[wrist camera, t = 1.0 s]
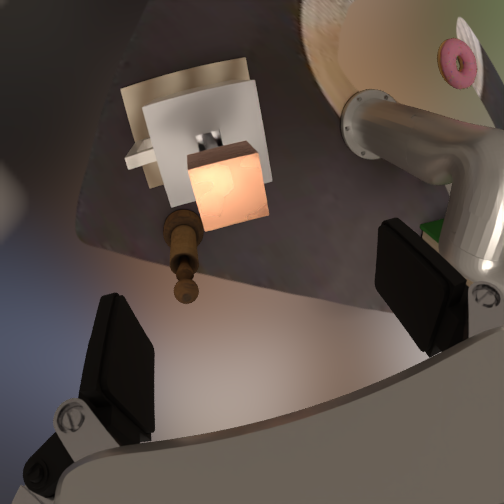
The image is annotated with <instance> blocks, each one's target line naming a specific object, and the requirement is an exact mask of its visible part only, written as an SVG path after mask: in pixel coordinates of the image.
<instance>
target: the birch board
mask: <svg viewBox="0 0 504 504" xmlns="http://www.w3.org/2000/svg"><path fill="white" fill-rule="evenodd" d="M228 80H250V78H249V73H248V68H247V63H246V58H239V59H233V60H227V61H222V62H217V63H212V64H208V65H203V66H199V67H194V68H190V69H186V70H182V71H178V72H174V73H171V74H167V75H163V76H160V77H157V78H153V79H150V80H147V81H143V82H140V83H137V84H134V85H131V86H128V87H125V88H122V89H121V93H122V97H123V101H124V105H125V108H126V112H127V116H128V119H129V123H130V126H131V130H132V133H133V137H134V140H135V143H136V141H139V140H142V139H145V138H148V137H150V135H149V132H148V128H147V124H146V121H145V117H144V113H143V110H142V107H143V106H145V105H146V104H148V103H149V102H151V101H152V100H154V99H156V98H159V97H162V96H166V95H169V94H173V93H177V92H180V91H184V90H188V89H192V88H196V87H200V86H204V85H209V84H213V83H218V82H223V81H228ZM142 166H143V170H144V173H145V176H146V179H147V182H148V185H149V188H153V187H157V186H160V185H163V184H164V183H163V179H162V176H161V173H160V170H159V166H158V163H157V161H155V162H152V163H148V164H145V165H142Z"/></svg>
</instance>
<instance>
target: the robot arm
mask: <svg viewBox="0 0 504 504" xmlns="http://www.w3.org/2000/svg"><path fill="white" fill-rule="evenodd" d="M357 98H358V100H357ZM345 127H346V129H345ZM341 133H342V137H343V139H344V142H345V143H346V145H347V146H348V148H349V149H350V150H351V151H352V152H353V153H355V154H356V155H358V156H360V157H362V158H365V159H379V158H383V159H385V160H386V161H388V162H390V163H392V164H394V165H396V166H397V167H399V168H401V169H403V170H405V171H406V172H408V173H410V174H412V175H413V176H415V177H417V178H419V179H420V180H422V181H424V182H426V183H428V184H432V185H446V184H450V183H452V187H451V192H450V198H449V202H448V206H447V210H446V214H445V218H444V222H443V225H442V229H441V233H440V238H439V245H438V248H439V253H438V252H437V251H436V250H435V249H434V248H432V247H431V246H430V245H429V244H428V243H427V242H426V241H425V240H423V239H422V238H421V237H420V236H419V235H418V234H417V233H415V232H414V231H413V230H412V229H411V228H410V227H408V226H407V225H406V224H405V223H404V222H402V221H401V220H400V219H399V218H392V219H389V220H385V221H383V222H382V224H381V226H379V228H378V245H377V260H376V273H375V287H376V290H377V291H378V293H379V294H380V295H381V297H382V298H383V299H384V301H385V302H386V303H387V305H388V306H389V307H390V309H391V310H392V311H393V313H394V314H395V315H396V317H397V318H398V319H399V321H400V322H401V323H402V325H403V326H404V328H405V329H406V331H407V332H408V333H409V335H410V336H411V337H412V339H413V340H414V342H415V343H416V345H417V346H418V347H419V349H420V350H421V351H422V352H424V351H425V352H426V354H427V355H428V356H429V359H427V360H425V361H423V362H421V363H419V364H417V365H415V366H413V367H410V368H408V369H406V370H404V371H402V372H400V373H397V374H395V375H393V376H391V377H388V378H386V379H384V380H381V381H379V382H377V383H374V384H372V385H369V386H367V387H364V388H362V389H359V390H357V391H354V392H352V393H349V394H346V395H343V396H341V397H338V398H335V399H332V400H330V401H327V402H324V403H321V404H318V405H315V406H312V407H309V408H305V409H302V410H299V411H296V412H292V413H290V414H286V415H282V416H279V417H275V418H272V419H268V420H264V421H260V422H256V423H252V424H248V425H244V426H239V427H235V428H230V429H226V430H221V431H216V432H211V433H206V434H201V435H194V436H188V437H182V438H176V439H170V440H163V441H156V442H148V443H140V442H145V441H151V433H153V432H154V431H155V418H154V417H155V415H154V356H155V355H154V354H155V353H154V348H153V345H152V343H151V342H150V340H149V338H148V337H147V335H146V334H145V332H144V330H143V328H142V327H141V325H140V324H139V322H138V320H137V318H136V317H135V315H134V313H133V311H132V310H131V308H130V306H129V304H128V303H127V301H126V299H125V297H124V296H123V295H121V296H119V294H118V293H112V294H108V295H104V296H102V297H101V299H100V302H99V306H98V310H97V314H96V318H95V321H94V326H93V330H92V334H91V338H90V340H89V344H88V349H87V353H86V358H85V363H84V368H83V373H82V379H81V385H80V390H79V397H78V398H72V399H69V400H66V401H65V402H63V403H62V404H61V405H60V406H59V407H58V409H57V410H56V412H55V415H54V420H53V423H54V428H55V430H56V432H55V433H54V434H53V435H52V436H51V437H50V438H49V439H48V440H47V441H46V442H45V443H44V444H43V445H42V446H41V447H40V448H39V449H38V450H37V451H36V452H35V453H34V454H33V455H32V456H31V457H30V458H29V459H28V461H27V462H26V464H25V466H24V469H23V478H24V482H25V486H22V485H21V486H20V488H19V490H18V491H17V494H16V495H15V498H14V500H13V502H12V504H504V130H501V129H497V128H492V127H487V126H481V125H475V124H471V123H466V122H462V121H459V120H455V119H452V118H448V117H445V116H442V115H438V114H435V113H432V112H429V111H425V110H421V109H418V108H414V107H410V106H406V105H403V104H399V103H397V102H396V101H395V100H394V99H393V98H392V97H391V96H390V95H389V94H387V93H385V92H383V91H380V90H375V89H366V90H363V91H360V92H358V93H356V94H355V95H354V96H353V97H351V98H350V100H349V101H348V102H347V103H346V105H345V107H344V109H343V112H342V116H341ZM465 278H466V279H468V280H470V281H472V282H474V283H473V284H471V285H470V287H468V286H467V284H466V282H467V280H466V279H465ZM439 352H441V353H439ZM438 353H439V354H438ZM436 354H437V355H436ZM434 355H435V356H434ZM432 356H433V357H432ZM430 357H431V358H430Z"/></svg>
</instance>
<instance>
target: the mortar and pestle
mask: <svg viewBox="0 0 504 504" xmlns="http://www.w3.org/2000/svg"><path fill="white" fill-rule="evenodd" d="M163 235H164V239H165V242H166V243H167V245H168V246H169V247H171V251H170V268H171V270H172V271H173V273H175V274H176V277H177V279H178V280H179V281H178V282H177V283H176V285H175V287H174V295H175V297H176V299H177V300H178V301H179V302H181V303H184V304H189V303H192V302H193V301H195V300H196V298H197V297H198V293H199V290H198V286H197V284H196V283H195V282H194V281H193V280H192V279H193V277H194V274H195V273H196V272H197V270H198V267H199V263H198V254H197V246H198V245H199V244H200V242H201V241H202V238H203V225H202V222H201V219H200V218H199V216H198V215H197V214H195V213H194V212H192V211H189V210H178V211H175V212H173V213H172V214H170V215H169V216H168V218H167V219H166V221H165V224H164V232H163Z"/></svg>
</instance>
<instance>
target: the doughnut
mask: <svg viewBox="0 0 504 504" xmlns="http://www.w3.org/2000/svg"><path fill="white" fill-rule="evenodd" d="M457 57H458V59H459V62H460V68H459V71H458V70H457V66H456V59H457ZM437 62H438V67H439V70H440V73H441V75H442V77H443V78H444V80H445V81H446V82H447V83H448V84H449V85H451V86H453V87H454V88H456V89H465V88H468V87H469V86H471V85H472V83H474V80H475V78H476V73H477V65H476V60H475V56H474V54H473V52H472V50H471V49H470V48H469V46H468V45H467V44H466V43H464V42H463V41H461V40H460V39H456V38H451V39H447V40H445V41H444V42H443V43H442V44H441V45H440V47H439V50H438V55H437Z"/></svg>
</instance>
